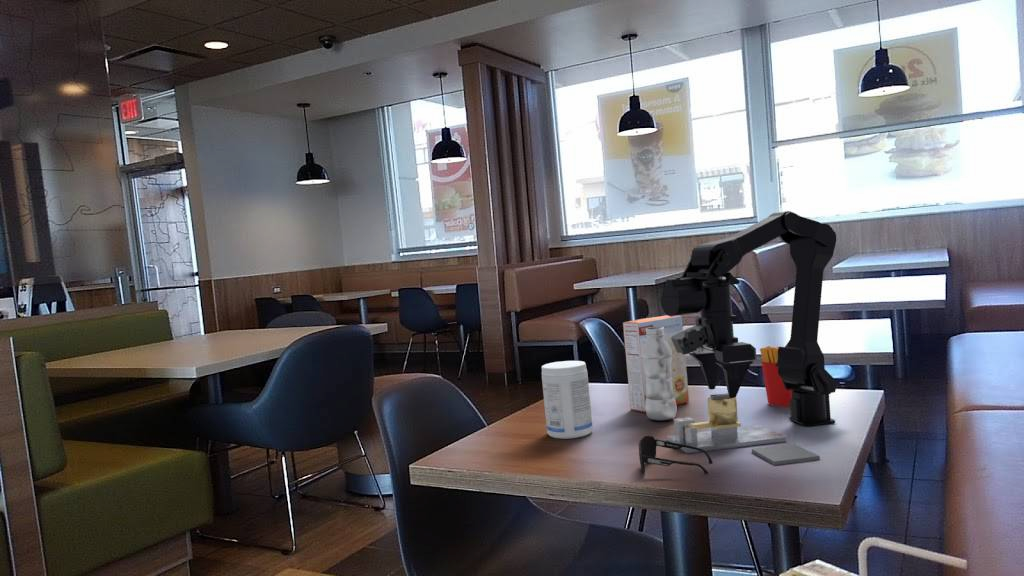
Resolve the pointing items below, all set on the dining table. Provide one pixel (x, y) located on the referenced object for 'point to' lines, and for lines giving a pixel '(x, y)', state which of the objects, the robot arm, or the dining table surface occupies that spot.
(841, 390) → the dining table surface
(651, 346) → the plastic bottle
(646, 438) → the sunglasses
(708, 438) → the lock base
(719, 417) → the gold rounded piece
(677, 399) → the cracker box
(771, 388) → the french fries
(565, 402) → the supplement tub
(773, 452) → the mat
